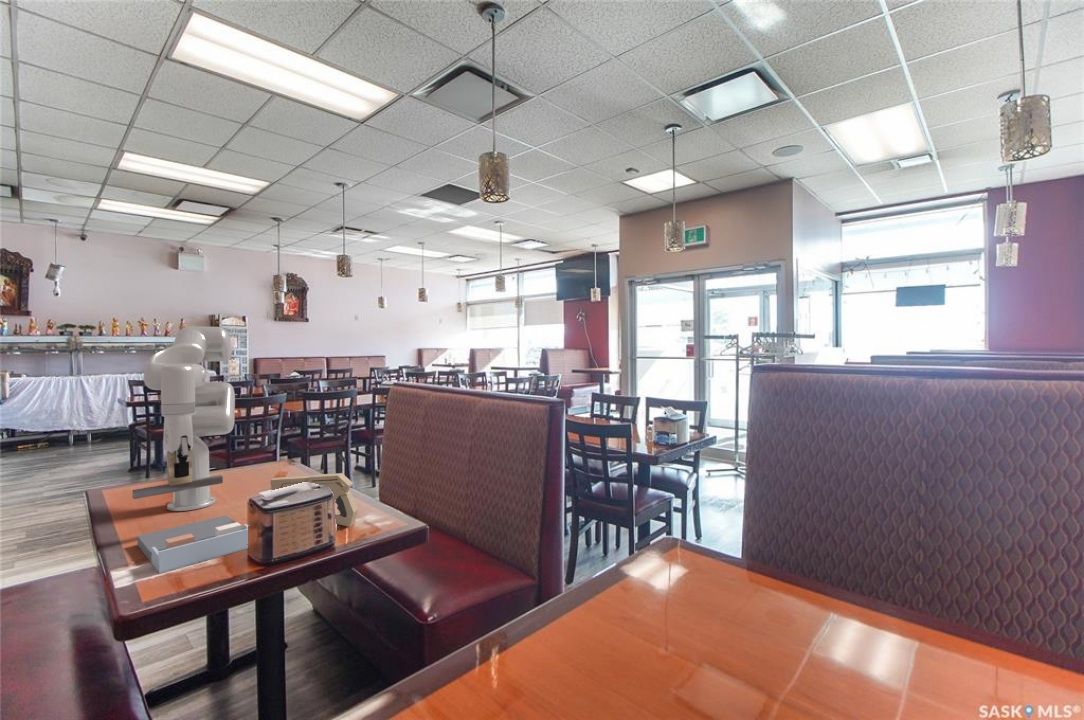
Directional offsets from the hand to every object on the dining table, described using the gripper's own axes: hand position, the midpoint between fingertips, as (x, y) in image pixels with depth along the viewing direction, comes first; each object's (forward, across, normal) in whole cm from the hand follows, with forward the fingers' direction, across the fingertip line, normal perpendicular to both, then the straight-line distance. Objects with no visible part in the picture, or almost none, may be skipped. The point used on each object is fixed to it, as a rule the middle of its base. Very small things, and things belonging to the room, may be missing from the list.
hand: (179, 475), depth 134 cm
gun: (+16, +22, +27) cm, 38 cm away
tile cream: (+13, +21, +5) cm, 25 cm away
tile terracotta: (+13, +21, -5) cm, 25 cm away
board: (+16, +11, 0) cm, 19 cm away
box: (+16, +23, 0) cm, 28 cm away
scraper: (+4, 0, 0) cm, 4 cm away
